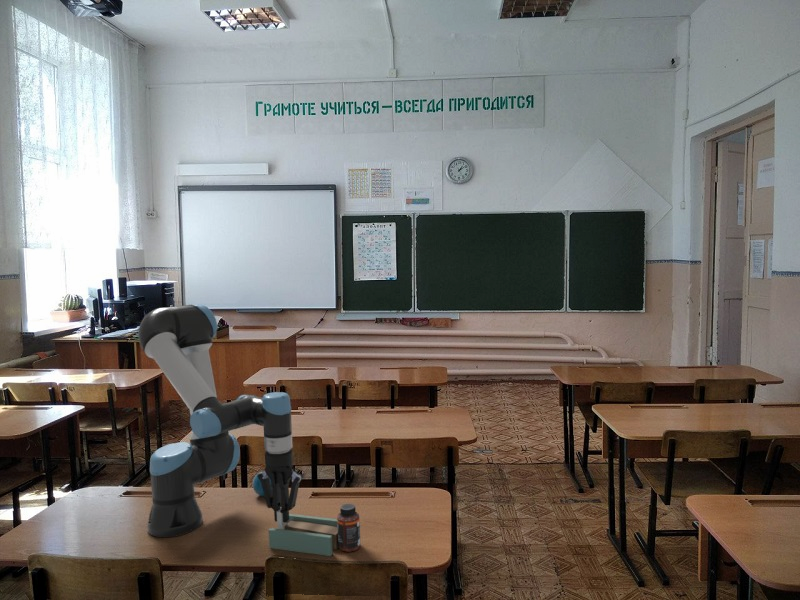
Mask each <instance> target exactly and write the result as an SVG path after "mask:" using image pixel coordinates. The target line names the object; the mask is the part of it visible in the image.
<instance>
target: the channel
mask: <svg viewBox="0 0 800 600" xmlns="http://www.w3.org/2000/svg"><path fill="white" fill-rule="evenodd" d="M291 520H297V521H303V522H309V523H315V524H321V525H327V526H333V527H338V525H337V518H329V517H321V516H311V515H303V514H294V513H289V521H288V522H287V524H288V523H289V522H290V521H291ZM268 544H269V545H268V548H269V549H274V550H283V551H289V552H298V553H305V554H311V555H312V554H313V555H319V556H327V557H331V556H332V555H333V554H334V553H333V548H332V536H331V535H323V534H315V533H307V532H299V531H291V530H283V529H278V528H273V527H270V528H269V529H268Z"/></svg>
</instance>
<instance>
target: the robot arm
mask: <svg viewBox="0 0 800 600" xmlns="http://www.w3.org/2000/svg"><path fill="white" fill-rule="evenodd" d="M217 331H218V322H217V319H216V316H215V314H214V313H213V311H212V310H211V309H210V308H209V307H207V306H206V305H204V304H188V305H187V304H185V305H176V306H168V307H158V308H155V309H153V310H151V311H150V312H148V313H147V314H146V315H145V316H144V317H143V318H142V320H141V323H139V328H138V333H137V335H138V336H137V337H138V342H139V345H140V347H141V349H142V351H143V352H144V354H145V355H146V356H147V357H148V358H150V359H153V360H154V361H155V363H156V364H157V366H158V367H159V369H160V370H161V371H162V373H163V374H164V376H165V377H166V379H167V380H168V381H169V383H170V384H171V385H172V387H173V388H174V389H175V391H176V392H177V394H178V395H179V396H180V398H181V400H182V401H183V403H184V404H185V405H186V407H187V408H188V410H189V413H190V417H189V418H190V419H189V425H190V426H189V427H191V431H192V433H191V435H190V437H189V442H187V441H179V442H176V443H175V442H173V443H169V444H166V445H163V446H162V447H159V448H158V449H156V450H154V452H153V453H152V455H151V456H150V459H149V473H150V486H151V497H152V498H151V499H152V500H151V501H152V504H151V507H150V508H151V509H150V512H149V516H148V519H147V532H148V533H147V534H149V535H151V536H153V537H156V538H173V537H177V536H181V535H182V536H183V535H186V534H188V533H191V532H193V531H194V530H196V529H198V528H199V527H200V526H201V525H202V524H203V512H202V510H201V509H200V506H199V504H198V502H197V498H196V495H195V485H198V484H201V483H204V482H207V481H209V480H212V479H215V478H217V477H223V476H224V475H225V474H227V473H231V472H232V471H234V470H235V469H236V467H237V466H238V463H239V461H240V457H241V449H240V444H239V442H238V440H237V438H236V436H235V435H234V434H231V433H230V431H233V430H237V429H241V428H244V427H247V426H251V425H258V426H262V427H263V440H264V441H263V442H264V464H265V468H264V470H262V471H260V472H261V473H259V472H258V473H259V474H258V473H257V474H258V475H257V474H256V475H257V477H258V479H259V480H260V482H261V485H262V488H263V492H264V496H263V497H264V499H265V503H266V507H267V508H268V509H272V511H274V512H273V514H274V515H273V517H274V519H273V520H274V522H276V523H277V524H276V525H277V528H276V529H283V530H285V525H286V524H287V522H288V521H289V514H290V511H292V510H293V509H294V508H295V506H296V504H297V498H298V493H299V487H300V482H301V481H302V479H303V474H301V473H300V474H298V473H297V472H296V470H295V467H294V465H293V464H294V451H293V447H294V446H293V430H292V429H293V428H292V406H291V397H290V395H289V394H288V393H287V392H283V391H281V392H279V391H274V392H268V393H265V394H264V395H263V396H262V397H261V396H256V395H253V394H241V395H240V396H238V397H237V398H236V399H235V400H234V401H229V402H225V403H222V402H221V401H220V400H219V399H218V397H217V390H216V389H217V388H216V384H215V380H214V379H215V377H214V374H213V368H212V363H211V357H210V348H212V345H213V339H214V338H215V337H216V336H217ZM268 477H269V478H270V480H271V484H270V480H269V478H268ZM290 479H291V482H292V483H291V487H289V486H290ZM271 487H272V488H271Z"/></svg>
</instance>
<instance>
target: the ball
mask: <svg viewBox="0 0 800 600" xmlns="http://www.w3.org/2000/svg"><path fill="white" fill-rule="evenodd" d="M261 472H262V471H259V472H258V473H256V474H255V476H254V477H253V479H252V489H253V490H254V492H255V493H256V494H257V495H258V496H261V497H265V496H264V492H263V488H262V485H261V482H260V480H259V479H258V477H257V475H258V474H259V473H261ZM268 478H269V477H268ZM269 480H270V478H269ZM270 484H271V480H270ZM271 488H272V487H271Z"/></svg>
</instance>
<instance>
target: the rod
mask: <svg viewBox="0 0 800 600" xmlns="http://www.w3.org/2000/svg"><path fill="white" fill-rule="evenodd" d="M285 530H291V531H299V532H307V533H315V534H323V535H331V536H332V550H337V549H339V545H338V527H333V526H327V525H321V524H315V523H309V522H303V521H297V520H291V521H290V522H289V523H288V524H286V525H285Z"/></svg>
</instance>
